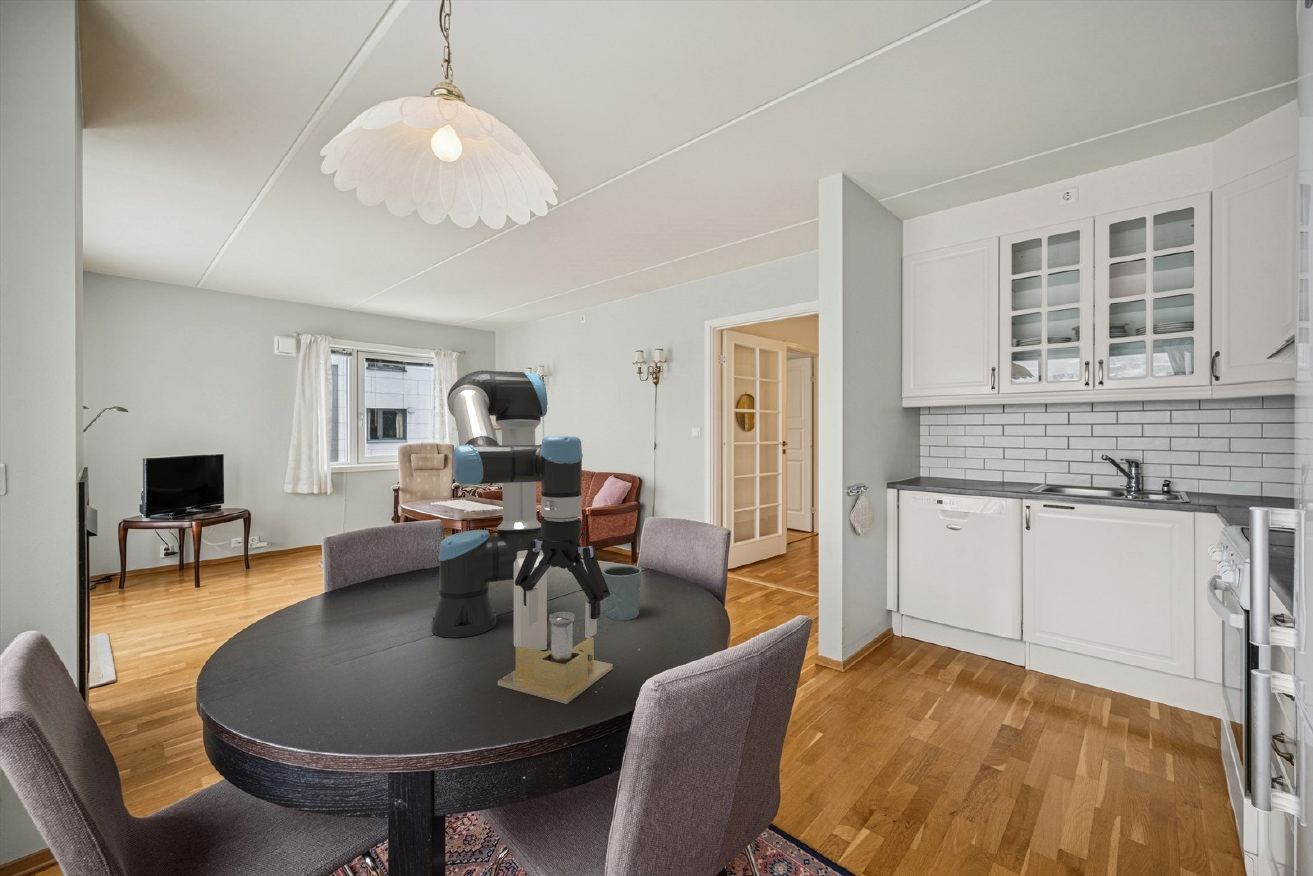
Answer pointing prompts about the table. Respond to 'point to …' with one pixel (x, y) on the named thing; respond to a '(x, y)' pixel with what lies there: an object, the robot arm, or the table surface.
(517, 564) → the milk
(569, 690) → the open box on plate
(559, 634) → the pin
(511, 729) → the table surface
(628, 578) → the teal cup
